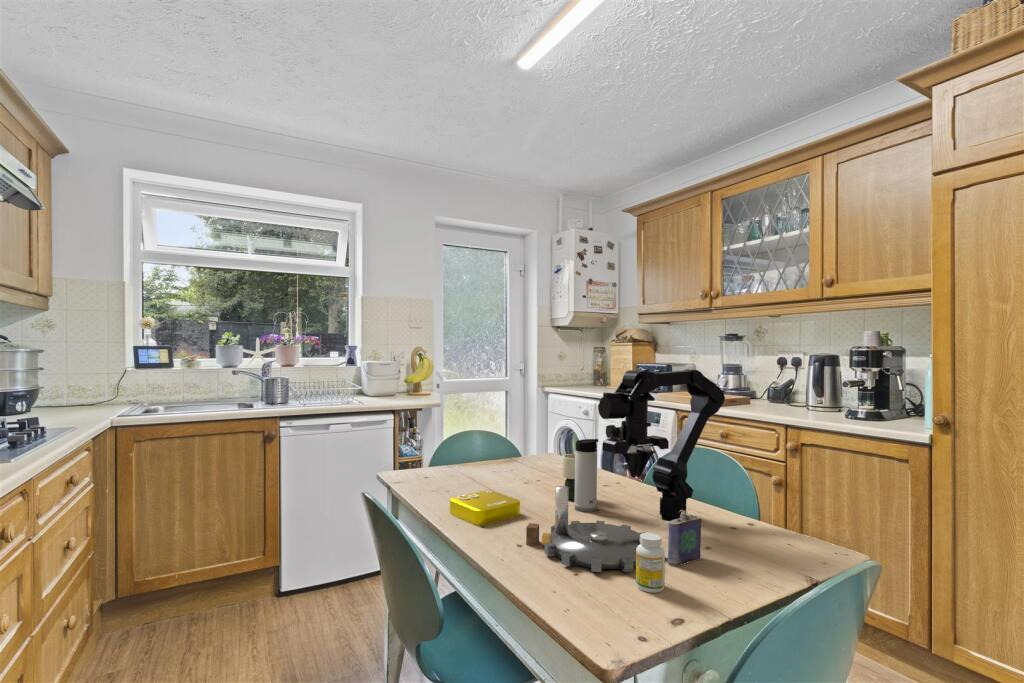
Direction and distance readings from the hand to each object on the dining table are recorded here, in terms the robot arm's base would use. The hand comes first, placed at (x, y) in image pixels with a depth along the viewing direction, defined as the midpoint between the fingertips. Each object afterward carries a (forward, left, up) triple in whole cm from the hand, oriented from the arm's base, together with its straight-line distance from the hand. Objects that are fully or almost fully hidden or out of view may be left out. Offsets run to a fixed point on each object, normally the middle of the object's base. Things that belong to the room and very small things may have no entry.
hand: (635, 477), depth 134 cm
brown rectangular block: (+23, +22, -12) cm, 34 cm away
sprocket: (+7, +22, -12) cm, 26 cm away
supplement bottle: (-4, +37, -12) cm, 39 cm away
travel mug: (+14, -8, -12) cm, 20 cm away
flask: (-11, +22, -12) cm, 27 cm away
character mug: (+19, -17, -12) cm, 28 cm away
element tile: (+40, +5, -13) cm, 42 cm away
